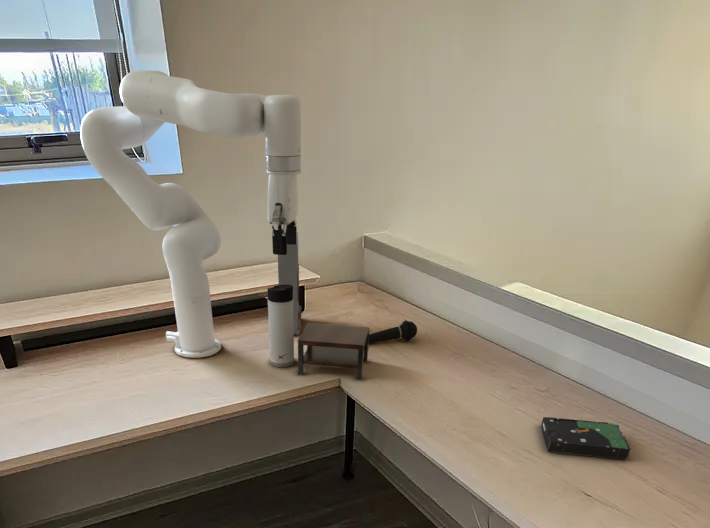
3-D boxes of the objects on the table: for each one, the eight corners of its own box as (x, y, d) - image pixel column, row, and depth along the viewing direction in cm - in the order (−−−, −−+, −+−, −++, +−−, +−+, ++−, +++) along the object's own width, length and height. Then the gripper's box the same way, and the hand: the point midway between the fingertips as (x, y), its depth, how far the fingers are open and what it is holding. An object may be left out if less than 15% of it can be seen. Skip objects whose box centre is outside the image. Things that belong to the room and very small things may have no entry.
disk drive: (546, 454, 110) (627, 461, 107) (550, 441, 108) (632, 448, 106) (539, 427, 118) (614, 433, 116) (542, 416, 117) (618, 421, 114)
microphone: (350, 357, 155) (418, 343, 157) (351, 341, 151) (421, 326, 152) (345, 345, 158) (411, 330, 160) (345, 328, 154) (414, 314, 156)
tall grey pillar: (300, 335, 161) (300, 243, 146) (279, 335, 161) (277, 243, 147) (301, 318, 172) (300, 232, 158) (281, 318, 172) (279, 232, 158)
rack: (298, 374, 140) (297, 340, 134) (308, 355, 149) (308, 322, 144) (361, 380, 137) (363, 345, 132) (367, 360, 146) (369, 327, 141)
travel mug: (285, 370, 142) (283, 290, 130) (265, 363, 145) (261, 285, 133) (300, 361, 146) (299, 284, 134) (280, 355, 149) (278, 279, 137)
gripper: (276, 159, 126) (278, 239, 136) (255, 169, 113) (259, 257, 123) (308, 160, 125) (308, 241, 135) (291, 170, 111) (292, 259, 121)
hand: (285, 249), depth 129 cm, fingers open, 9 cm apart
